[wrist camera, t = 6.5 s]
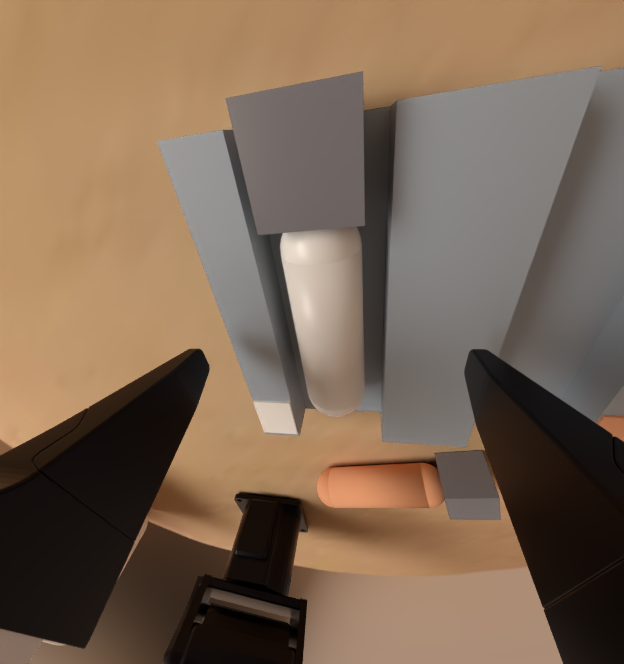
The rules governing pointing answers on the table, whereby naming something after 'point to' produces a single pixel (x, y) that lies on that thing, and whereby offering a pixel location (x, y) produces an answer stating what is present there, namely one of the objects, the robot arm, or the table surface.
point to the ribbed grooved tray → (445, 254)
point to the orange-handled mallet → (417, 486)
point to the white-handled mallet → (313, 219)
